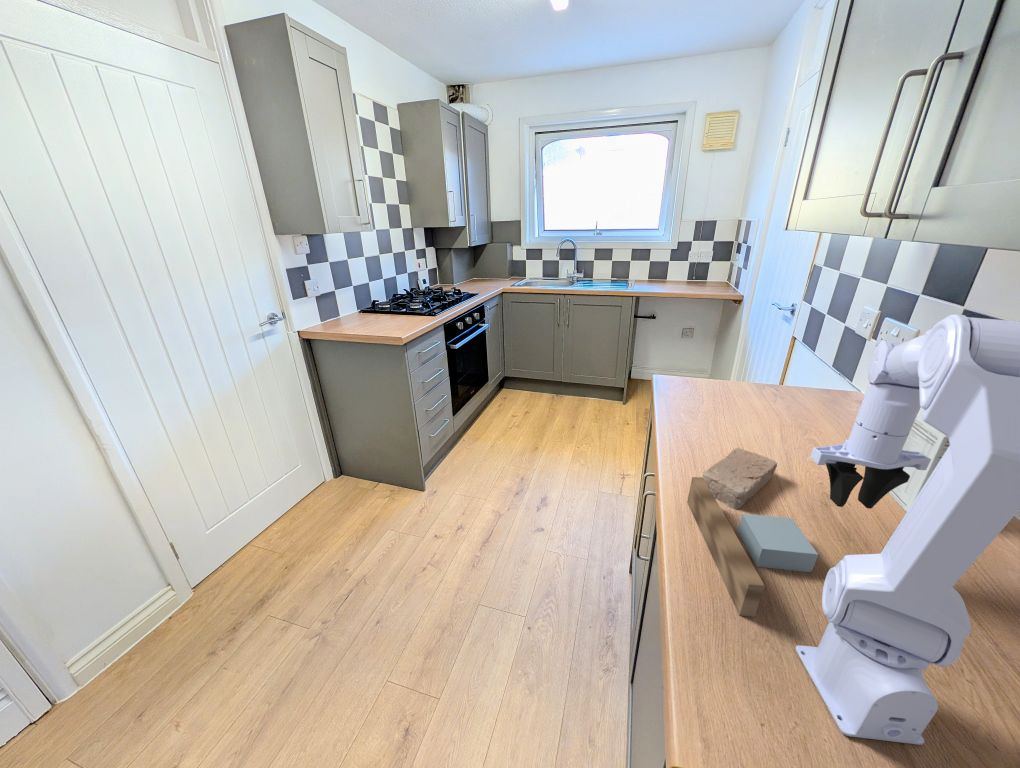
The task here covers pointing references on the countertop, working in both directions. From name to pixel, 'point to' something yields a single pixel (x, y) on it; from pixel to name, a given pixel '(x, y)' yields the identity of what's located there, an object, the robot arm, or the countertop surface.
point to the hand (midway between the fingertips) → (850, 503)
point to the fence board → (725, 549)
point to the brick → (739, 477)
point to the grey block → (776, 543)
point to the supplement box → (932, 447)
